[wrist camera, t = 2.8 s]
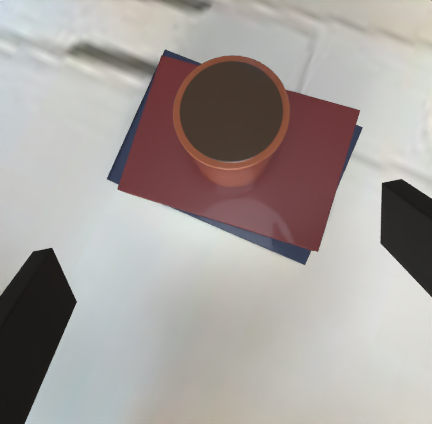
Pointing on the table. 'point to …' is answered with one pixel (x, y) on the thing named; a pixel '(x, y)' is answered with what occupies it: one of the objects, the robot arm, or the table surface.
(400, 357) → the table surface
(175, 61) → the burgundy book
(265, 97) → the terracotta pot
